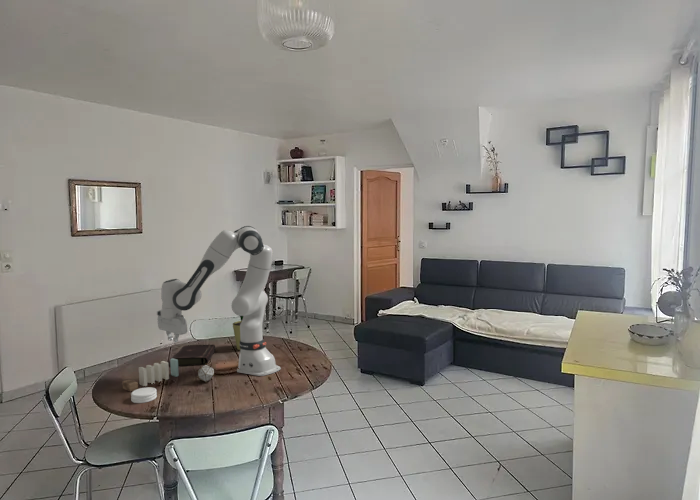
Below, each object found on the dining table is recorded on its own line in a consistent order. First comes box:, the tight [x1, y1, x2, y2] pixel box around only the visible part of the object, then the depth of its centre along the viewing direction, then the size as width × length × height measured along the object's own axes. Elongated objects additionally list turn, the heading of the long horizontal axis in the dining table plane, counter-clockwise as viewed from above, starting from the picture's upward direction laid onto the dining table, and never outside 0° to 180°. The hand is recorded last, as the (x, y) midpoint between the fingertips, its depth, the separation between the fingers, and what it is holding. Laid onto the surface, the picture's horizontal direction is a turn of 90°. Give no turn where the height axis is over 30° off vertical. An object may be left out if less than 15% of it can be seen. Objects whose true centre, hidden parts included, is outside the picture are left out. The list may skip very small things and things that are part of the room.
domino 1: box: [138, 366, 148, 387], centre depth 213 cm, size 4×1×8 cm, turn 52°
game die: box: [196, 364, 216, 384], centre depth 216 cm, size 9×8×10 cm
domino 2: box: [145, 364, 156, 385], centre depth 215 cm, size 4×1×8 cm, turn 52°
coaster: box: [130, 386, 158, 404], centre depth 196 cm, size 10×10×4 cm
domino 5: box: [169, 357, 180, 378], centre depth 225 cm, size 4×1×8 cm, turn 52°
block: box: [122, 379, 139, 393], centre depth 208 cm, size 7×4×3 cm, turn 52°
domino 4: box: [160, 360, 170, 380], centre depth 221 cm, size 4×1×8 cm, turn 52°
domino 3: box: [153, 362, 163, 383], centre depth 218 cm, size 4×1×8 cm, turn 52°
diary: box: [172, 344, 216, 367], centre depth 252 cm, size 19×25×5 cm
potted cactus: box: [232, 316, 243, 351], centre depth 271 cm, size 15×15×30 cm
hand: (173, 340), depth 224 cm, fingers open, 3 cm apart
